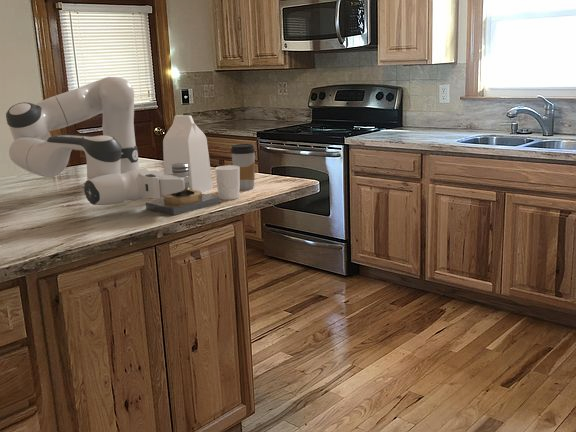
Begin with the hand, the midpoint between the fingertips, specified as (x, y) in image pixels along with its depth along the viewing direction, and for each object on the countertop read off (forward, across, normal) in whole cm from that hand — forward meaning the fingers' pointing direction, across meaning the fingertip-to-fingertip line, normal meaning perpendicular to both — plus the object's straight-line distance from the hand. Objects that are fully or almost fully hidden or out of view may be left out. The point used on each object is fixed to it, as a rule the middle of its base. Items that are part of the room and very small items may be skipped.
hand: (183, 177), depth 191 cm
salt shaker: (-1, 0, -7) cm, 7 cm away
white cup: (+16, +1, -9) cm, 18 cm away
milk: (+11, -18, -9) cm, 23 cm away
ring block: (-1, 0, -9) cm, 9 cm away
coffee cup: (+27, -7, -9) cm, 29 cm away
